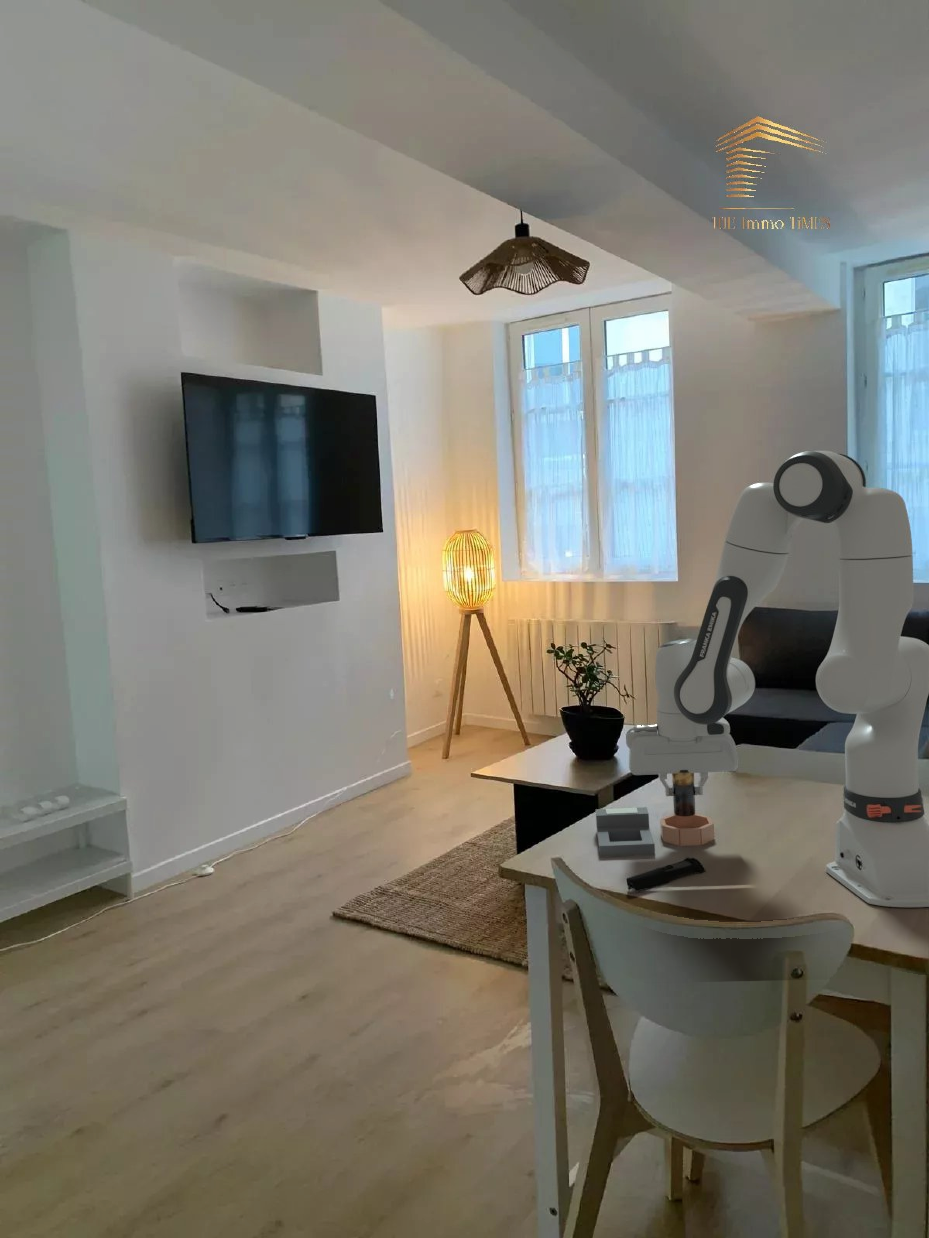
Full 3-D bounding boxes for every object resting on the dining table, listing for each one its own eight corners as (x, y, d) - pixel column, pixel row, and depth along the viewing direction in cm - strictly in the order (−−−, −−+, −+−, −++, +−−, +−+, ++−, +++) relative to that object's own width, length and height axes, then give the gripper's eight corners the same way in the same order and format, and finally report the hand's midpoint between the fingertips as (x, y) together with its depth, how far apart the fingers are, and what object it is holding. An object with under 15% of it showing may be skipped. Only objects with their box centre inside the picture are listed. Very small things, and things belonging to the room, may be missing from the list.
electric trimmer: (621, 891, 158) (620, 873, 158) (692, 869, 165) (691, 852, 165) (635, 899, 155) (634, 880, 155) (707, 875, 162) (706, 858, 162)
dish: (717, 846, 175) (716, 828, 174) (664, 848, 176) (663, 830, 175) (708, 829, 184) (708, 812, 184) (659, 831, 185) (658, 814, 185)
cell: (697, 816, 177) (695, 765, 176) (675, 816, 178) (672, 766, 177) (694, 809, 181) (691, 759, 180) (672, 809, 182) (670, 760, 181)
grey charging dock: (655, 857, 172) (653, 829, 171) (600, 859, 173) (598, 831, 172) (647, 831, 185) (646, 806, 185) (597, 833, 187) (595, 808, 186)
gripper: (626, 730, 176) (630, 801, 177) (738, 725, 173) (741, 798, 175) (624, 722, 182) (627, 791, 183) (732, 717, 180) (734, 788, 181)
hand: (683, 794), depth 179 cm, fingers closed on cell, 4 cm apart
